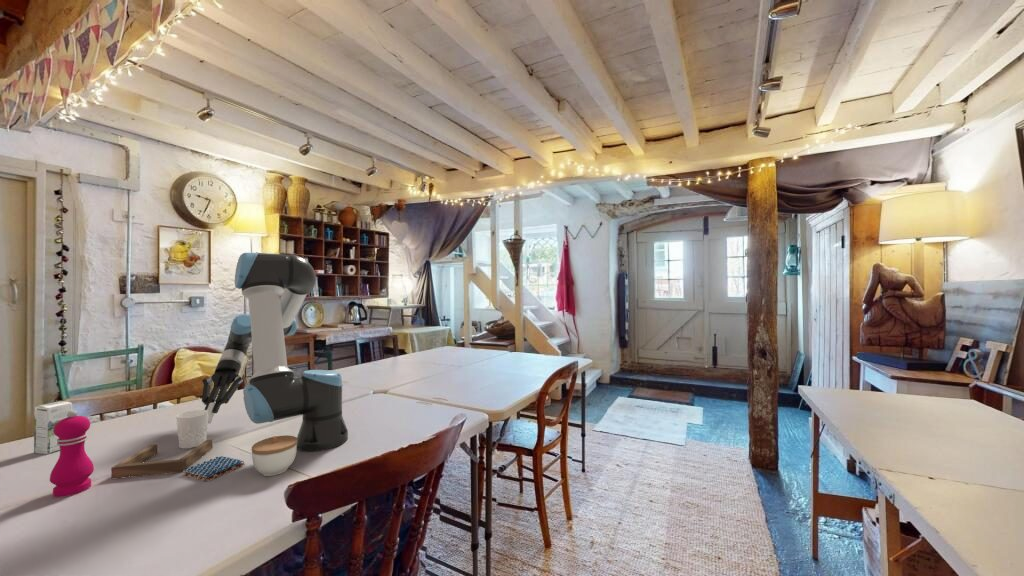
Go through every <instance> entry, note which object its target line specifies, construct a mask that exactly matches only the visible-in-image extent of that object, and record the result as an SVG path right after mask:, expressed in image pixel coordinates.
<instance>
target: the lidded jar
mask: <svg viewBox="0 0 1024 576" xmlns="http://www.w3.org/2000/svg"><path fill="white" fill-rule="evenodd" d="M297 449H298V448H297V436H294V435H278V436H277V435H275V436H272V437H268V438H267V437H266V438H263V439H262V440H258V441H257V442H255V443H254V444H253V445H252V446H251V458H252V463H253V466H254V468H255V469H256V471H257V472H259V473H260V474H261V475H262V476H263V477H273V476H278V475H280V474H283V473H285V472H286V471H288V469H289V467H291V466H292V464H293V463H294V461H295V459H296V455H297Z"/></svg>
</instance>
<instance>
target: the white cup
mask: <svg viewBox="0 0 1024 576" xmlns="http://www.w3.org/2000/svg"><path fill="white" fill-rule="evenodd" d="M208 413H209V411H208V410H204V409H197V410H191V411H185V412H182V413H179V414H177V415H176V426H177V438H178V444H179V445H178V446H179V447H178V448H179V449H182V448H185V450H186V449H192V448H193V447H194V448H196V447H198V446H199V445H200V444H202V443H203V442H205V441H206V440H207V437H208V430H209V429H208V426H209V424H208Z"/></svg>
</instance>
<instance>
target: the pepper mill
mask: <svg viewBox="0 0 1024 576" xmlns="http://www.w3.org/2000/svg"><path fill="white" fill-rule="evenodd" d="M78 413H79V412H78V411H77V410H74V409H72V411H69V412H68V413H67V418H65V419H62V420H60V421H59V422H58V423H57V424H56V425H55V427H54V434H55V435H56V436H57V437H59V439H57V445H58V446H60V451H59V457H58V459H57V461H56V463H55V464H54V467H52V470H51V473H50V475H49V482H50V483H51V484H53V485H54V487H53V488H52V497H54V498H64V497H70V496H74V495H77V494H80V493H83V492H85V491H87V490H88V489H90V488H91V486H92V478H90V476H91V475H92V474H93V473H94V471H95V468H94V467H95V465H94V462H93V461H92V460H91V458H90V457H89V455H88V454H87V453H86V450H85V444H86V443H85V442H86V440H88V433H86V432H88V430H89V429H90V427H91V421H90V419H89V418H88V417H87V416H83V415H78ZM89 487H90V488H89ZM86 489H87V490H86ZM84 490H85V491H84ZM82 491H83V492H82ZM73 494H74V495H73ZM69 495H70V496H69Z"/></svg>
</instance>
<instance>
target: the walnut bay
mask: <svg viewBox="0 0 1024 576" xmlns="http://www.w3.org/2000/svg"><path fill="white" fill-rule="evenodd" d="M213 441H214V440H213V439H211V438H210V439H206V441H205V442H203V443H202V444H200V445H199V446H197V447H194V449H192V450H191V451H188V452H187V453H186V454H185V455H184V456H182V457H181V458H179V459H168V460H158V461H148V459H149V458H150V459H151V457H152V456H153V457H155V456H157V455H158V448H159V447H158V443H155V444H154V443H153V444H150V445H148V446H147V447H145V448H143V449H141V450H139V451H138V452H136V453H135V454H133V455H131V456H129V457H128V458H126V459H124V460H122V461H120V462H119V463H117V464H116V465H114V466H112V467H111V472H110V473H111V474H110V475H111V479H112V478H117V479H123V478H122V477H127V478H132V477H131V476H137V477H144V476H143V475H147V476H155V475H156V474H157V475H164V474H165V473H167V474H173V473H174V474H175V473H184V472H185V471H184V469H187V470H188V469H189V468H191V467H192V465H194V464H195V463H196V462H198V461H199V460H200V459H202V458H203V457H205V455H207V454H208V453H209V452H211V451H212V450H213V449H212V448H213V447H214V445H213ZM211 449H212V450H211ZM210 450H211V451H210ZM207 452H208V453H207ZM206 453H207V454H206ZM156 454H157V455H156ZM154 455H155V456H154ZM202 456H203V457H202ZM153 457H152V458H153ZM150 459H149V460H150ZM146 460H147V461H146ZM197 460H198V461H197ZM143 462H144V463H143ZM193 463H194V464H193ZM129 476H130V477H129ZM112 480H113V479H112Z"/></svg>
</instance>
